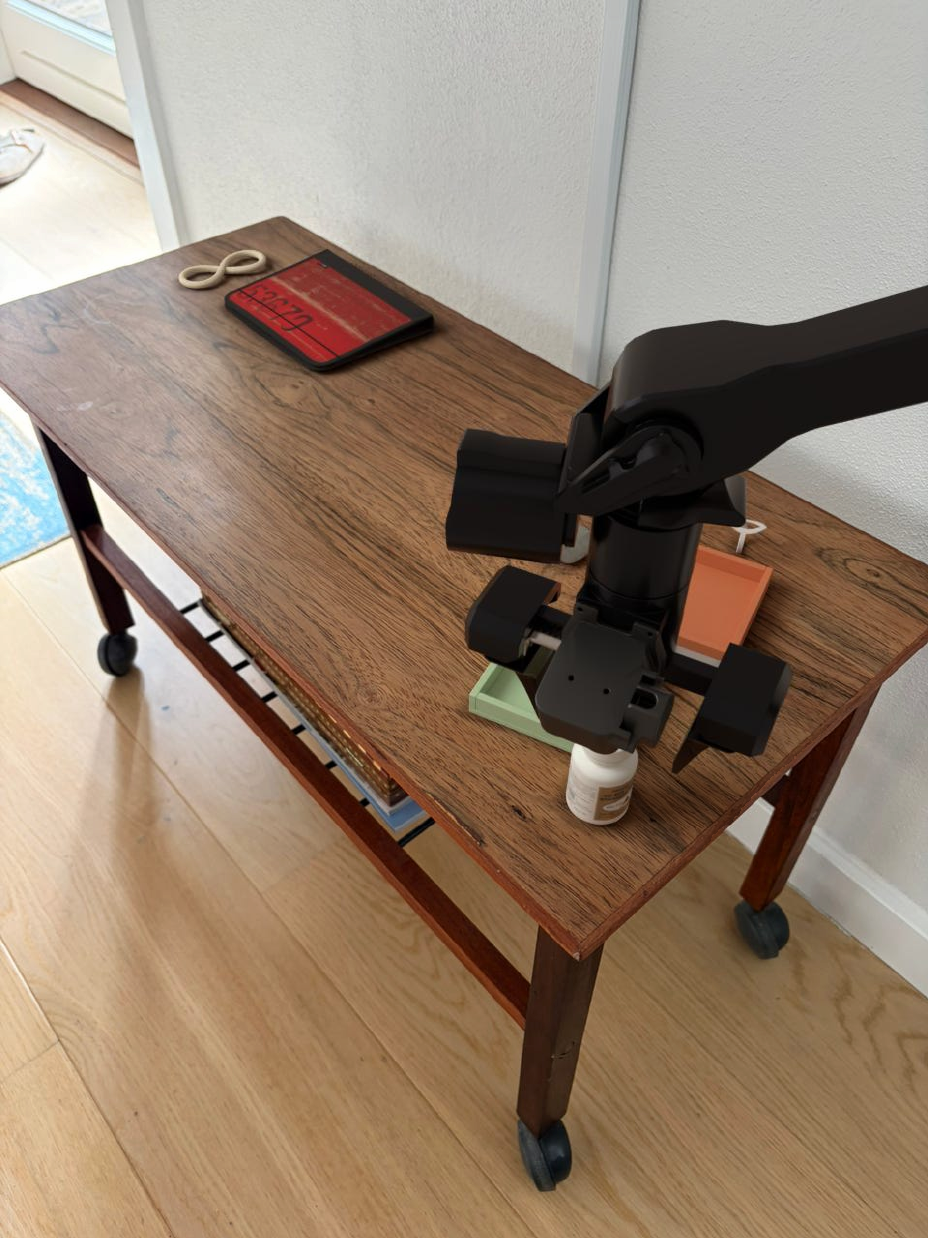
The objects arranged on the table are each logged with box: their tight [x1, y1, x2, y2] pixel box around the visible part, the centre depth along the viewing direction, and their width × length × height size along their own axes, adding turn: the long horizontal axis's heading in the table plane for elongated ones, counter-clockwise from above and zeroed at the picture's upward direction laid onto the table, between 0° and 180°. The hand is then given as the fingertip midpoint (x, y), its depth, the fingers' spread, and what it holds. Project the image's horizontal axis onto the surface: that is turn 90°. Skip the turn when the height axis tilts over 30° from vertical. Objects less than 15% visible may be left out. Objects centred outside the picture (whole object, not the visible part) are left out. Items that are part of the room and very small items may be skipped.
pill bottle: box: [565, 743, 639, 826], centre depth 68 cm, size 4×4×8 cm
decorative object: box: [178, 249, 267, 290], centre depth 125 cm, size 11×1×5 cm
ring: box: [731, 518, 768, 554], centre depth 89 cm, size 3×3×3 cm
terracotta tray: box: [677, 544, 775, 661], centre depth 84 cm, size 11×11×2 cm
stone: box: [560, 522, 591, 564], centre depth 91 cm, size 12×2×5 cm
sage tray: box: [468, 662, 575, 754], centre depth 78 cm, size 11×11×2 cm
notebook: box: [223, 248, 435, 372], centre depth 117 cm, size 16×2×21 cm
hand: (608, 741), depth 66 cm, fingers open, 9 cm apart
